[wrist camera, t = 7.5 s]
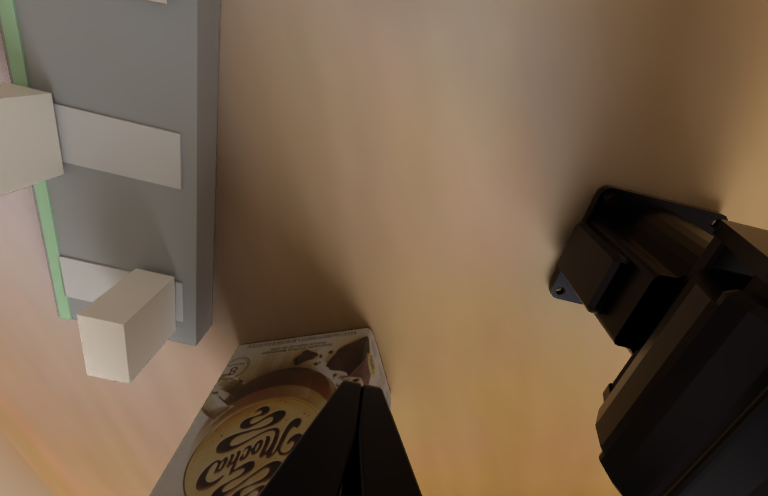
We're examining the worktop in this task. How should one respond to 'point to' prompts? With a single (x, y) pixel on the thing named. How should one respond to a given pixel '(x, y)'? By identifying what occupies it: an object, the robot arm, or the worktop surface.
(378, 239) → the worktop surface
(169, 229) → the breaker panel
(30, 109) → the block
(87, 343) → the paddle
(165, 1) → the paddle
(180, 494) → the coffee box
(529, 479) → the worktop surface
